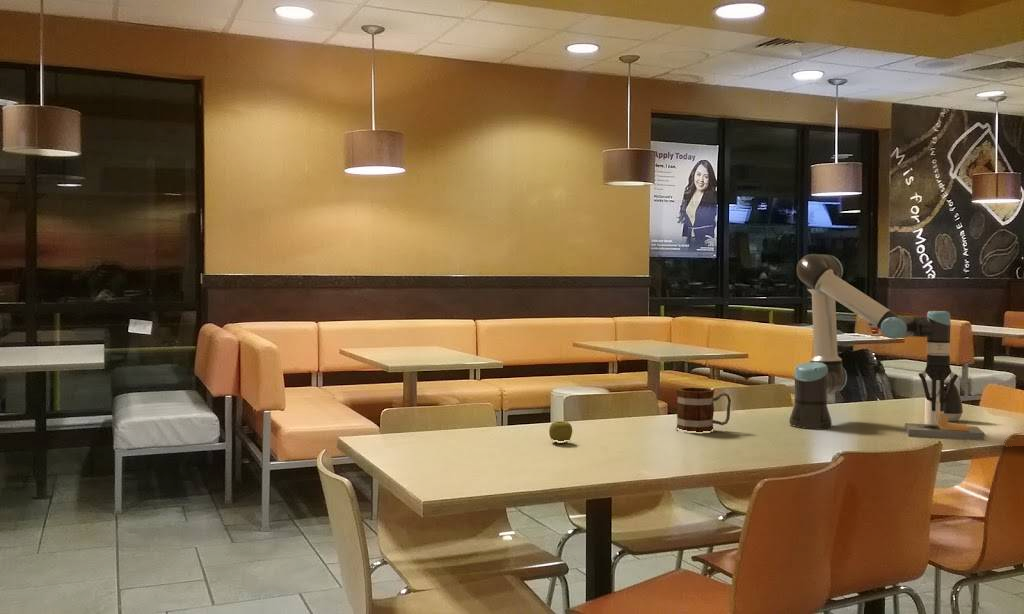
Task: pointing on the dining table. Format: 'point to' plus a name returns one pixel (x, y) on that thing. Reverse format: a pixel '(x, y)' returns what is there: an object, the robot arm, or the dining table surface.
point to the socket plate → (942, 432)
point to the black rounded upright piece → (952, 404)
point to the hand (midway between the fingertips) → (937, 420)
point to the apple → (560, 431)
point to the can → (930, 411)
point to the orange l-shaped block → (950, 424)
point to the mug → (698, 409)
